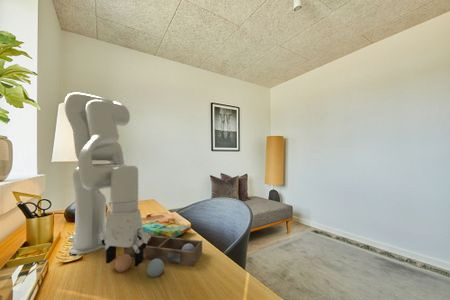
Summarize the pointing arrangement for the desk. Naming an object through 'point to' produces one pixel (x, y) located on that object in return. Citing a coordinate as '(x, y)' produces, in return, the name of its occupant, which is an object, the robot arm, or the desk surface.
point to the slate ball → (155, 267)
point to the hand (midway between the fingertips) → (124, 262)
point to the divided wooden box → (169, 250)
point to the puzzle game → (165, 228)
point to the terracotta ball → (123, 262)
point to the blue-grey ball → (188, 247)
